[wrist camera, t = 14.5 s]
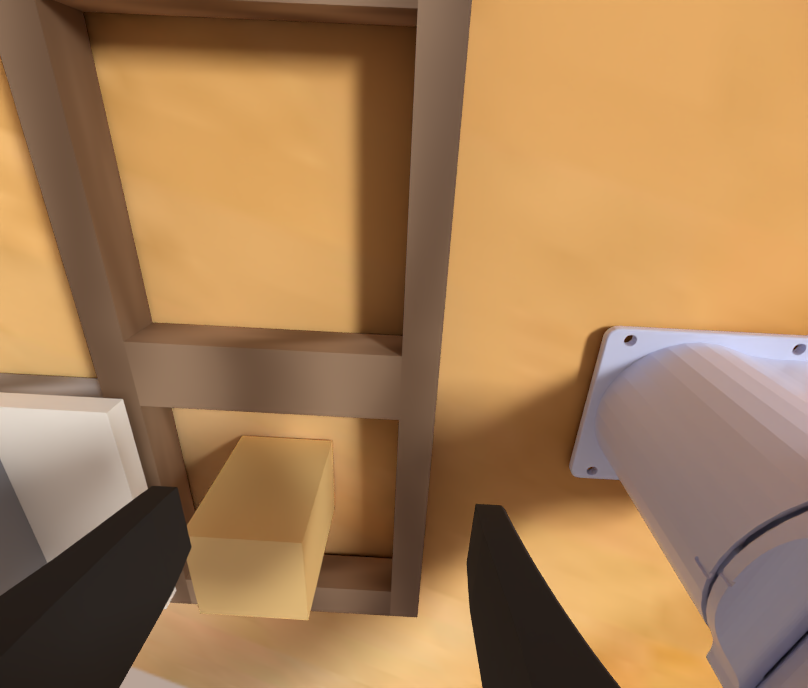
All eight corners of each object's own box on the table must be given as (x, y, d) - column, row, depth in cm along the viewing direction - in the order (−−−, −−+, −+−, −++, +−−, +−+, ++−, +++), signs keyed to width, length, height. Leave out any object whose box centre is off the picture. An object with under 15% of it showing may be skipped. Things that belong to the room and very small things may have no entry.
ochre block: (332, 440, 21) (301, 543, 16) (334, 508, 23) (308, 620, 18) (242, 435, 21) (180, 535, 16) (252, 503, 23) (199, 613, 18)
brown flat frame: (470, -52, 13) (479, -84, 11) (417, 583, 25) (417, 617, 23) (-365, -87, 13) (-489, -124, 11) (-16, 557, 25) (-49, 589, 24)
